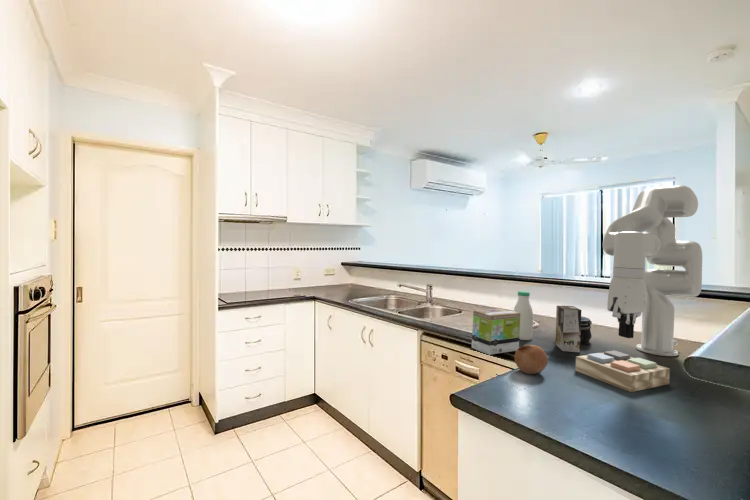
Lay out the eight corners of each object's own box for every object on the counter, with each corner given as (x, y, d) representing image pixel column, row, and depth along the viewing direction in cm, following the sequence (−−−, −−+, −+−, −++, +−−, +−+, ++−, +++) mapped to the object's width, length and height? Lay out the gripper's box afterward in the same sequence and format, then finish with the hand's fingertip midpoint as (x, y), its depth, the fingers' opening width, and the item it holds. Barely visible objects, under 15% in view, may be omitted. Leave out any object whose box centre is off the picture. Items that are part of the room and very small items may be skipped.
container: (580, 347, 139) (581, 322, 139) (550, 339, 150) (550, 315, 150) (598, 343, 146) (598, 319, 146) (567, 335, 157) (568, 313, 157)
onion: (521, 384, 109) (509, 356, 108) (520, 366, 118) (509, 340, 116) (554, 378, 105) (542, 349, 104) (550, 360, 114) (539, 333, 112)
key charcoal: (614, 359, 117) (614, 350, 116) (629, 364, 112) (630, 355, 112) (603, 361, 115) (604, 351, 115) (619, 366, 110) (619, 356, 110)
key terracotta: (621, 369, 107) (622, 360, 107) (639, 375, 102) (639, 365, 102) (610, 371, 105) (610, 361, 105) (628, 378, 100) (628, 367, 100)
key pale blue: (598, 361, 114) (598, 352, 114) (613, 367, 109) (614, 357, 109) (587, 363, 112) (587, 354, 112) (602, 369, 107) (602, 359, 107)
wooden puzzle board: (611, 364, 120) (612, 351, 119) (669, 384, 104) (669, 368, 104) (575, 370, 113) (576, 356, 113) (630, 392, 97) (631, 375, 97)
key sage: (638, 367, 110) (638, 357, 109) (656, 372, 105) (656, 362, 105) (627, 369, 108) (627, 359, 108) (645, 374, 103) (645, 364, 103)
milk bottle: (533, 337, 152) (534, 291, 152) (530, 341, 146) (532, 293, 145) (514, 334, 156) (515, 289, 156) (511, 338, 150) (512, 291, 149)
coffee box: (580, 352, 132) (582, 309, 132) (562, 351, 133) (563, 308, 133) (572, 345, 141) (573, 305, 141) (554, 344, 142) (556, 304, 142)
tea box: (490, 356, 127) (491, 315, 126) (471, 348, 135) (472, 310, 135) (519, 350, 133) (521, 311, 133) (499, 343, 142) (500, 307, 142)
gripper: (632, 273, 109) (629, 332, 109) (598, 273, 103) (595, 335, 104) (659, 275, 102) (656, 338, 102) (624, 275, 96) (621, 342, 97)
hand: (625, 336), depth 103 cm, fingers closed
